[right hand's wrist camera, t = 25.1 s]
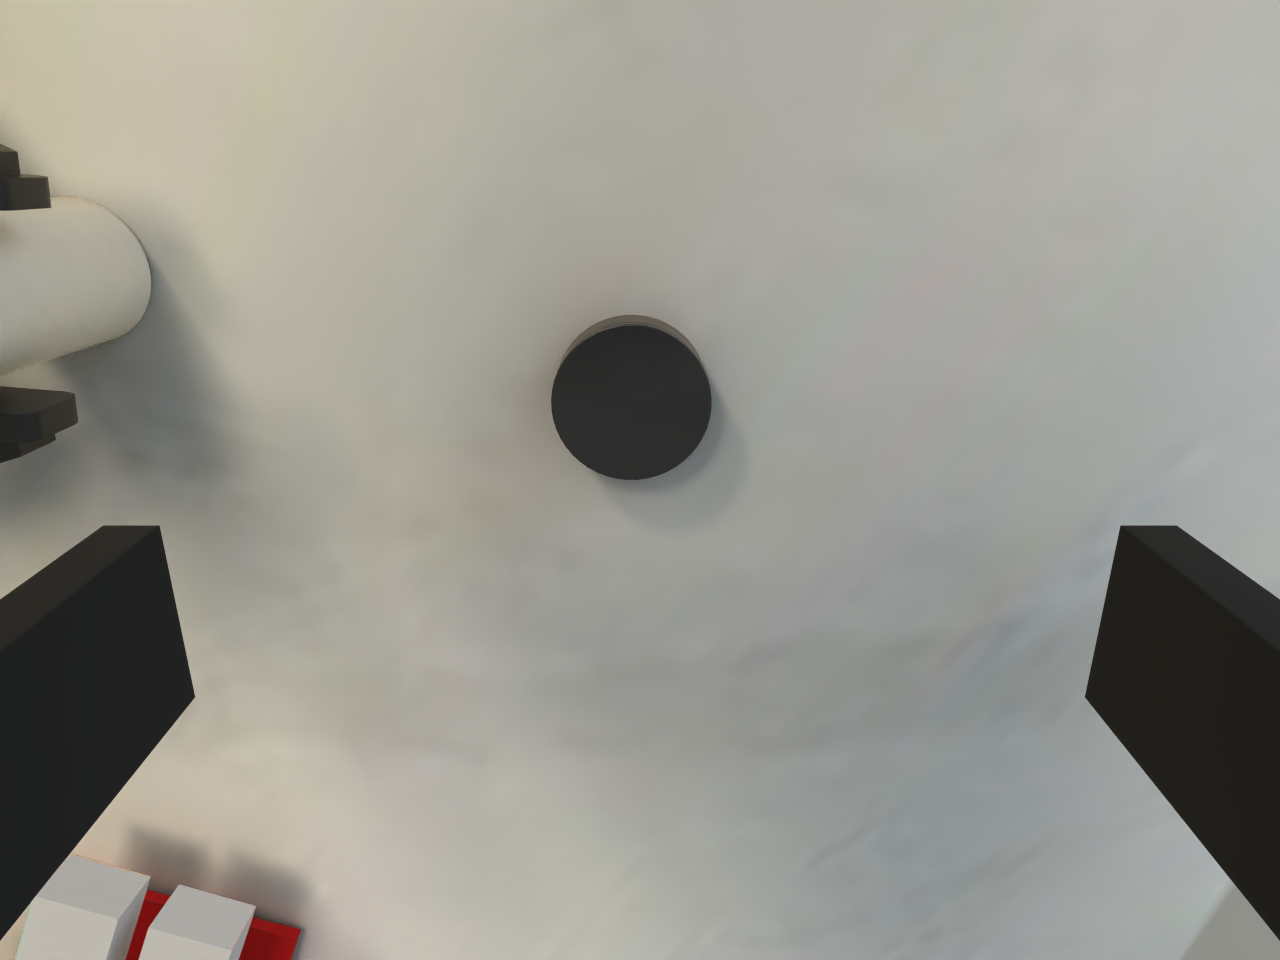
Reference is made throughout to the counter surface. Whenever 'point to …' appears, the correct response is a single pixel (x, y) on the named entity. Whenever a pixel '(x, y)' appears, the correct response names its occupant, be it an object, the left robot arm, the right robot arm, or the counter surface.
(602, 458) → the lid
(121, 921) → the toy
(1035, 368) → the counter surface
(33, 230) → the white cylinder
